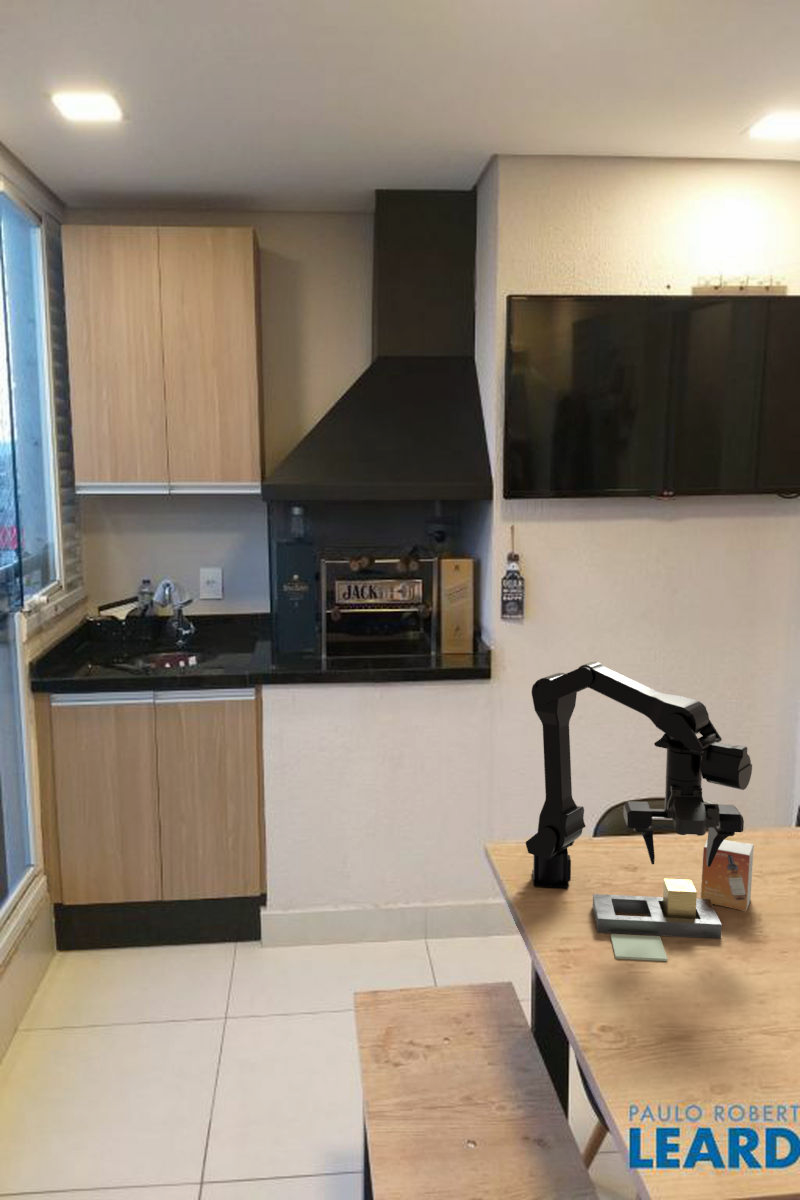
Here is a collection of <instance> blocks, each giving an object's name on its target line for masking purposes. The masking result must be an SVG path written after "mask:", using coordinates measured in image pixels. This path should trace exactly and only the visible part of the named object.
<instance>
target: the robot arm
mask: <svg viewBox="0 0 800 1200" xmlns="http://www.w3.org/2000/svg"><path fill="white" fill-rule="evenodd" d="M588 688H589V689H591V690H593V691H595V692H597V693H598V694H601V695H602V696H605V697H607V698H609V699H611V700H613V701H615V702H617V703H619V704H621V705H624V706H625V707H627V708H629V709H632V710H634V711H636V712H638V713H640V714H642V715H644V716H645V717H647V718H648V719H649V720H650V721H651V722H652V724H653V725H654V726H655V727H656V728H657V729H659V730H660V731H661V732H663V733H664V734H663V735H662V736H661V738H659V739H657V740H656V741H655V742H654V743H653V744H654V747H657V748H662V749H665V750H666V763H665V764H666V765H665V766H666V767H665V791H664V793H665V795H664V796H665V797H664V809H663V808H651V807H650V805H649V802H648V801H636V800H635V801H634V800H633V801H632V800H628V801H626V802H625V803H624V805H623V811H622V812H623V818H624V822H625V824H626V827H627V828H629V829H633V831H634V832H635V833H637V834H638V833H639V834H641V836H642V837H643V840H644V843H645V846H646V847H645V848H646V851H647V854H648V857H649V860H650V863H651V865H655V857H656V856H655V844H654V829H653V827H652V825H653V821H657V822H672V823H673V829H674V831H675V833H676V834H678V835H680V836H687V835H693V836H694V835H695V836H697V837H701V836H704V835H706V833H707V839H708V841H707V840H706V841H707V852H706V863H707V866H708V867H710V866H711V864H712V862H713V859H714V857H715V855H716V853H717V851H718V849H719V847H720V845H721V843H722V842H723V840H727V838H728V837H734V836H735V834H736V833H742V832H744V817H743V815H742V814H741V812H740V811H739V809H738V808H737V807H736V806H735V805H734V804H726V803H725V804H722V803H719V804H718V803H708V802H705V801H704V798H703V787H702V784H703V783H702V781H703V780H702V779H704V780H705V781H706V782H707V783H709V784H714V785H719V786H722V787H728V788H732V789H737V790H742V791H744V790H746V789H747V788H748V785H749V783H750V781H751V777H752V773H753V772H752V771H753V764H752V762H751V756H750V754H749V753H748V747H747V746H744V745H733V744H729V743H728V744H727V743H723V742H722V740H723V739H722V737H721V736H720V734H719V732H718V731H717V729H716V728H715V726H714V724H713V723H712V721H711V720H710V716H709V712H708V710H707V707H706V705H704V703H703V702H701V701H699V700H697V699H693V698H689V697H685V696H682V695H678V694H671V693H670V694H669V693H664V692H659V691H657V690H655V689H653V688H652V687H648V686H647V685H645V684H642V683H640V682H639V681H636V680H633V679H632V678H630V677H628V676H626V675H623V674H621V673H619V672H617V671H614V670H613V669H610V668H608V667H606V666H604V665H603V664H602V663H600V662H597V661H592V662H588V663H585V664H582V665H581V666H579V667H577V668H576V669H574V670H572V671H569V672H567V673H565V672H558V673H553V674H550V675H548V676H544V677H542V678H539V679H537V680H536V681H535V682H534V684H532V687H531V697H532V702H533V703H532V705H533V709H534V712H535V713H536V715H537V717H538V718H539V720H540V722H541V726H542V741H543V743H542V744H543V762H544V763H543V765H544V786H545V787H544V788H545V789H544V790H545V800H544V803H543V806H542V807H541V810H540V813H539V817H538V823H537V824H538V827H537V832H536V833H535V834H534V835H532V836H531V837H530V838H529V839H528V840H526V841H525V846H526V850H527V853H528V854H531V855H533V858H532V859H533V862H532V864H533V869H532V870H531V871H532V884H533V887H537V888H554V889H555V888H557V889H559V888H560V889H568V888H569V885H570V884H569V882H570V881H571V875H572V874H571V873H572V860H571V855H570V854H569V852H568V848H570V847H573V845H574V843H575V841H576V840H577V839H579V837H580V836H582V833H583V829H584V828H586V824H585V821H584V820H585V819H584V817H585V816H584V814H585V807H584V806H583V805H582V806H578V805H577V804H576V802H575V799H573V793H572V791H573V789H572V788H573V787H572V786H573V785H572V768H571V766H572V765H571V745H570V744H571V740H570V739H571V737H570V722H571V718H572V715H573V713H574V710H575V707H576V701H577V693H578V692H581V691H582V690H585V689H588ZM698 734H700V735H701V736H699V737H698V736H697V735H698ZM707 828H708V831H707ZM706 831H707V832H706Z"/></svg>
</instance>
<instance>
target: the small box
mask: <svg viewBox="0 0 800 1200" xmlns="http://www.w3.org/2000/svg"><path fill="white" fill-rule="evenodd" d="M707 841H708V838H706V842H705V844H704V846H703V849H702V851H703V852H702V867H701V868H702V869H701V870H702V871H701V885H700V886H701V888H700V899H710V901H711V903H712V905H717V906H721V907H727V908H730V909H735V910H740V911H742V912H747V910H748V908H749V905H750V902H751V895H752V881H753V880H752V879H753V865H754V863H753V861H754V846H755V845H754V844H753V843H747V842H746V843H745V842H741V841H740V842H739V841H734V840H727V839H724V840H723V842H722V843H721V845H720V847H719V849H718V851H717V853H716V855H715V857H714V859H713V862H712V864H711V866H710V867H708V866H707V863H706V852H707Z"/></svg>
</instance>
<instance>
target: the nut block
mask: <svg viewBox="0 0 800 1200" xmlns="http://www.w3.org/2000/svg"><path fill="white" fill-rule="evenodd" d="M662 889H663V891H662V897H663V916H664V918H685V919H696V899H698V898H697V895H698V892H697V890H696V888H695V885H694V883H693V881H692V879H680V878H679V879H677V878H663V888H662Z"/></svg>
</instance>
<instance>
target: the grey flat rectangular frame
mask: <svg viewBox="0 0 800 1200" xmlns="http://www.w3.org/2000/svg"><path fill="white" fill-rule="evenodd" d="M592 909H593V910H592V911H593V915H594V919H595V920H594V921H595V925H596V930H597V933H599V934H600V933H601V934H620V935H640V936H660V937H676V938H677V937H679V938H696V939H697V938H698V939H719V940H721V939H722V929H723V928H722V922H721V920H720V918H719V916H718V914H717V912H716V909H715V907H714V904H712V903H711V901H710V899H701V898H696V919H685V918H664V916H663V896H646V895H627V894H626V895H621V894H603V893H602V894H601V893H600V894H599V893H593V894H592ZM616 913H621V915H619V914H618V915H617V914H616ZM622 914H638V916H637V915H622ZM639 914H642V915H643V914H644V915H645V916H642V915H641V916H639Z"/></svg>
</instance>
